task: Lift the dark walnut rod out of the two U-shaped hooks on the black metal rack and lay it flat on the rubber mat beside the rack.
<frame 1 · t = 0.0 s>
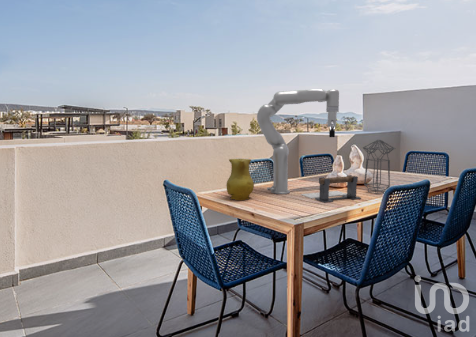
hand: (331, 136, 228), 37 cm above the table, fingers open, 9 cm apart
mat: (324, 195, 230), on the table
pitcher: (240, 198, 224), on the table
rod: (338, 183, 216), point 10 cm above the table, touching rack
geometric lantern: (376, 192, 236), on the table
rack: (337, 199, 217), on the table
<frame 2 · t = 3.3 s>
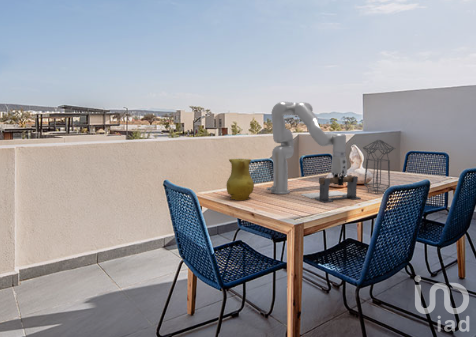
hand: (338, 184, 216), 9 cm above the table, fingers closed on rod, 3 cm apart
rod: (338, 183, 216), point 10 cm above the table, touching gripper, rack
everything else where it was.
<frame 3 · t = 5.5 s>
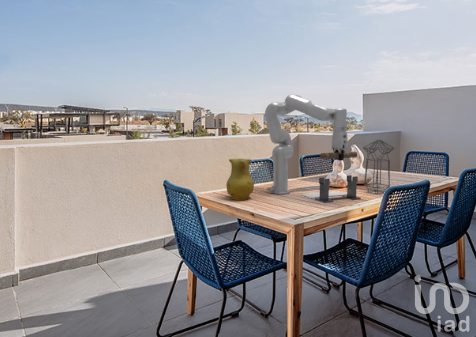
hand: (338, 159, 214), 24 cm above the table, fingers closed on rod, 3 cm apart
rod: (338, 158, 214), point 25 cm above the table, touching gripper
everything else where it was.
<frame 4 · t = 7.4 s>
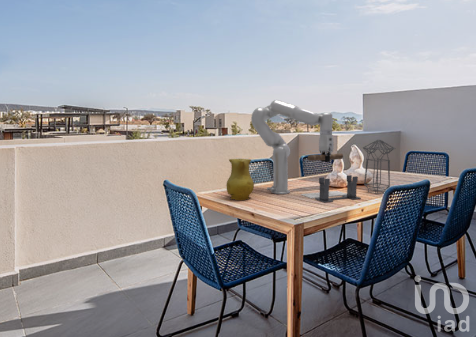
hand: (325, 161, 228), 22 cm above the table, fingers closed on rod, 3 cm apart
rod: (325, 160, 227), point 23 cm above the table, touching gripper
everything else where it was.
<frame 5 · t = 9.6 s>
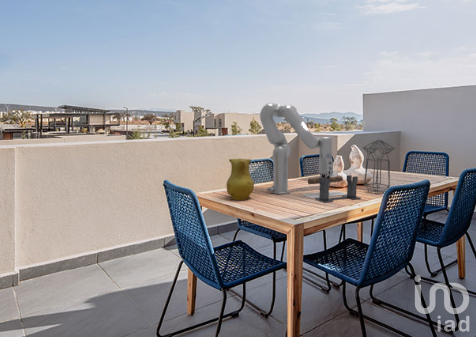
hand: (325, 184, 229), 7 cm above the table, fingers closed on rod, 3 cm apart
rod: (325, 182, 229), point 8 cm above the table, touching gripper
everything else where it was.
when the fingers open (2 cm above the table, at t = 11.5 s): rod drops 2 cm, resting on mat.
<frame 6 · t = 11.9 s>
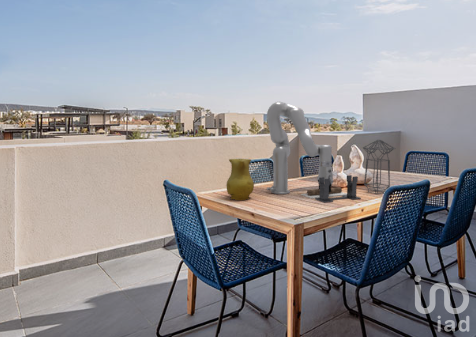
hand: (324, 191, 230), 3 cm above the table, fingers open, 7 cm apart
rod: (324, 194, 230), point 1 cm above the table, touching mat
everything else where it was.
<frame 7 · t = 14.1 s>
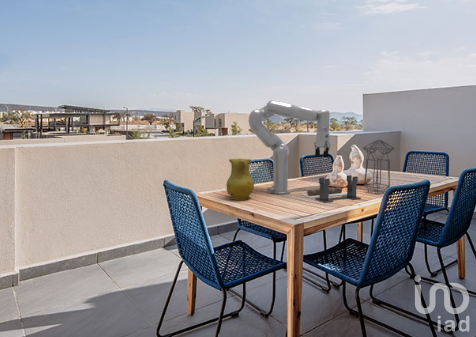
hand: (321, 156, 230), 25 cm above the table, fingers open, 9 cm apart
rod: (324, 194, 230), point 1 cm above the table, tilted 8°, touching mat
everything else where it was.
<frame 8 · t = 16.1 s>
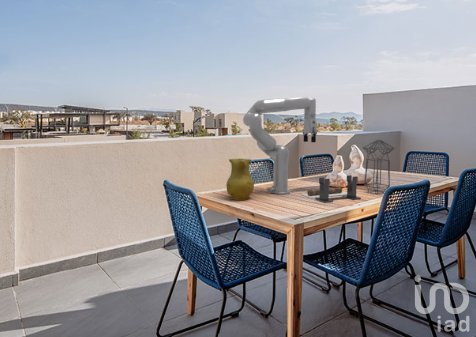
hand: (309, 142, 244), 33 cm above the table, fingers open, 9 cm apart
nothing on the table moved.
at the end: rod inside the target area on the mat (0.1 cm from its centre), point 0.6 cm above the mat's base; rod touching mat; the gripper is holding nothing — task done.
